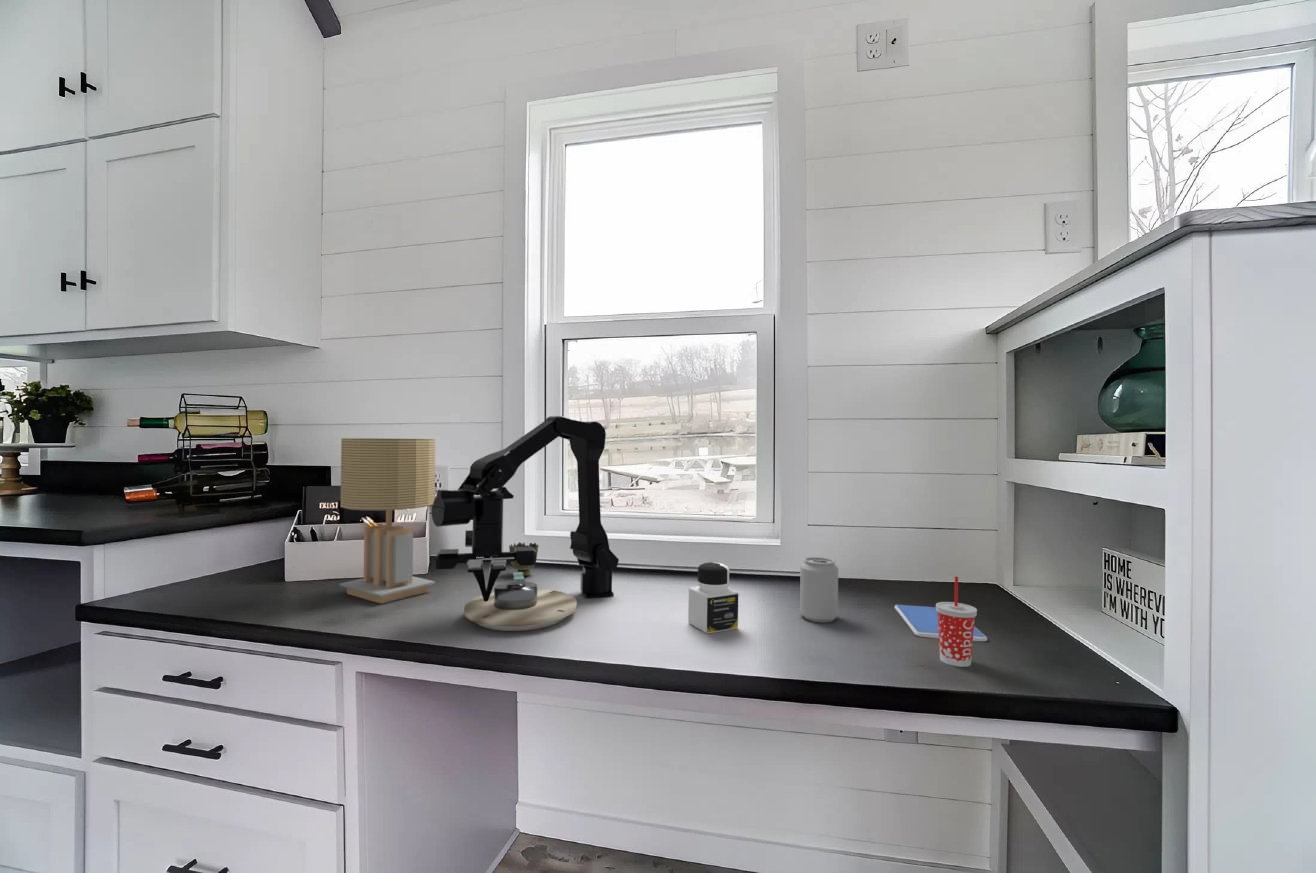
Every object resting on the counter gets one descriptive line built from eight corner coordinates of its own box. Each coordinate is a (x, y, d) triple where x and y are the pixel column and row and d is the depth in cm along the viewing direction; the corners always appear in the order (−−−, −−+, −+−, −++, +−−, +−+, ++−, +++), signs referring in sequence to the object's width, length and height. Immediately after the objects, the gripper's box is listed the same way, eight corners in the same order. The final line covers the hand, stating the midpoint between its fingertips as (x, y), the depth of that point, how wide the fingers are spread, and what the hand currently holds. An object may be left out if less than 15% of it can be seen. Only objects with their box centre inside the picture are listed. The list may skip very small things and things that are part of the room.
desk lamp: (451, 590, 133) (453, 439, 133) (371, 610, 117) (373, 439, 117) (401, 578, 144) (403, 438, 144) (321, 595, 127) (323, 438, 127)
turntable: (597, 602, 120) (597, 583, 120) (527, 634, 100) (527, 611, 100) (517, 588, 130) (517, 570, 130) (439, 614, 111) (439, 593, 111)
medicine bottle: (707, 634, 106) (707, 569, 106) (687, 623, 112) (688, 562, 112) (738, 629, 109) (739, 566, 109) (717, 618, 115) (718, 559, 115)
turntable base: (560, 600, 126) (560, 593, 126) (573, 626, 109) (573, 618, 109) (474, 606, 121) (474, 599, 121) (474, 634, 104) (474, 627, 104)
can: (840, 615, 118) (840, 557, 118) (835, 625, 111) (835, 564, 111) (803, 610, 121) (804, 553, 121) (796, 620, 115) (797, 560, 115)
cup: (541, 572, 152) (542, 542, 152) (532, 579, 144) (533, 547, 144) (514, 571, 152) (514, 541, 152) (504, 578, 145) (504, 546, 145)
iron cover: (545, 601, 116) (545, 582, 116) (517, 612, 109) (517, 591, 109) (514, 595, 120) (514, 576, 120) (484, 605, 113) (485, 585, 113)
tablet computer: (893, 609, 125) (893, 603, 125) (955, 613, 123) (955, 607, 123) (915, 639, 106) (915, 632, 106) (989, 645, 104) (989, 637, 104)
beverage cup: (947, 668, 91) (948, 581, 91) (927, 654, 97) (928, 572, 97) (984, 668, 92) (986, 581, 92) (962, 654, 98) (963, 572, 98)
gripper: (532, 515, 124) (530, 587, 123) (440, 517, 118) (438, 592, 118) (537, 523, 113) (535, 602, 113) (436, 525, 107) (434, 608, 107)
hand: (486, 600), depth 113 cm, fingers closed
